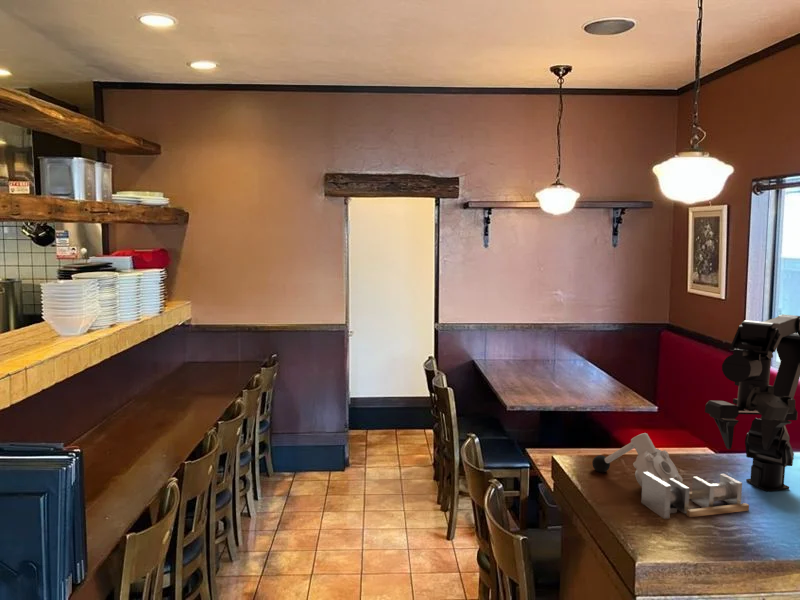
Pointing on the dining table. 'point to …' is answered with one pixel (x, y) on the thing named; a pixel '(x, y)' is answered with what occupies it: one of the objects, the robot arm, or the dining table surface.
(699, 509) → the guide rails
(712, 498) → the grey slotted block
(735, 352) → the robot arm
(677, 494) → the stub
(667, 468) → the mechanical valve
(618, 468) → the dining table surface
